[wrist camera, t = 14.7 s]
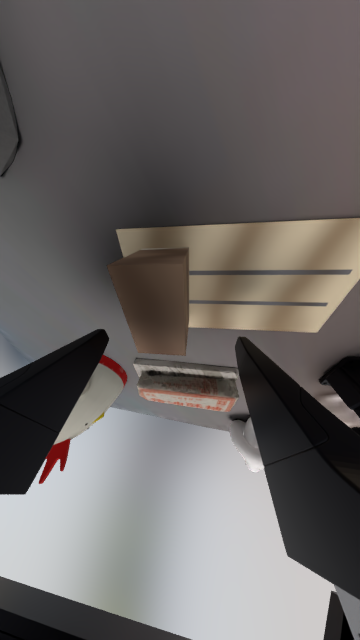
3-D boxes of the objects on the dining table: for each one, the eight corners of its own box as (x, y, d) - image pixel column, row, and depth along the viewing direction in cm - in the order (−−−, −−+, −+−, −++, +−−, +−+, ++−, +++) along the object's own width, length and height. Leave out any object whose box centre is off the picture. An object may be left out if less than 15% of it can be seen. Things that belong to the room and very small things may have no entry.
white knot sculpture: (264, 405, 28) (286, 467, 21) (289, 423, 32) (315, 479, 25) (222, 415, 34) (228, 465, 27) (248, 428, 38) (259, 476, 31)
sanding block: (189, 247, 11) (182, 263, 6) (189, 316, 15) (185, 355, 10) (142, 248, 11) (106, 265, 7) (155, 315, 15) (138, 352, 11)
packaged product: (247, 395, 18) (230, 419, 24) (238, 365, 22) (226, 392, 28) (123, 381, 20) (136, 407, 26) (135, 355, 23) (144, 383, 29)
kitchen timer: (125, 391, 32) (82, 489, 20) (68, 376, 31) (-13, 472, 19) (129, 360, 24) (60, 496, 12) (51, 338, 23) (-112, 467, 11)
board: (387, 216, 9) (410, 215, 8) (309, 325, 15) (316, 332, 14) (122, 228, 11) (115, 229, 10) (145, 319, 17) (142, 325, 16)
